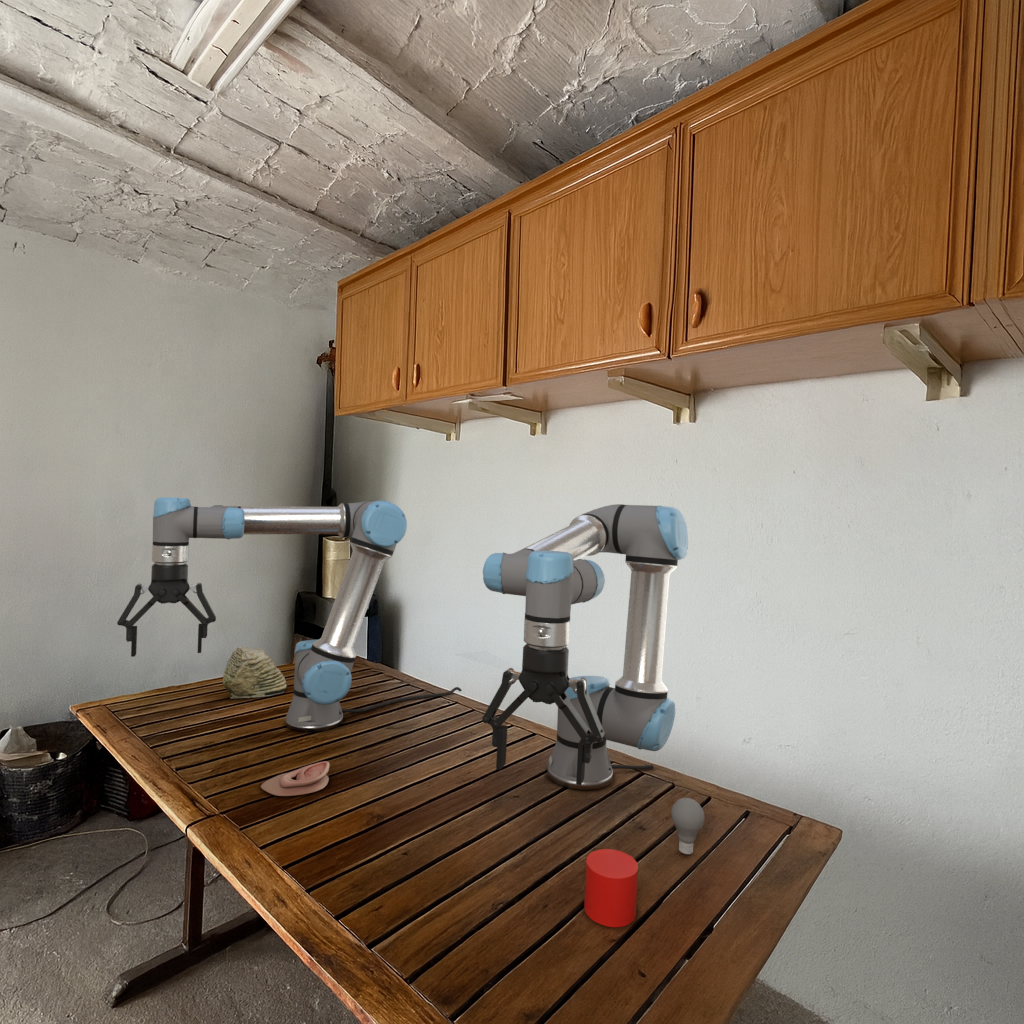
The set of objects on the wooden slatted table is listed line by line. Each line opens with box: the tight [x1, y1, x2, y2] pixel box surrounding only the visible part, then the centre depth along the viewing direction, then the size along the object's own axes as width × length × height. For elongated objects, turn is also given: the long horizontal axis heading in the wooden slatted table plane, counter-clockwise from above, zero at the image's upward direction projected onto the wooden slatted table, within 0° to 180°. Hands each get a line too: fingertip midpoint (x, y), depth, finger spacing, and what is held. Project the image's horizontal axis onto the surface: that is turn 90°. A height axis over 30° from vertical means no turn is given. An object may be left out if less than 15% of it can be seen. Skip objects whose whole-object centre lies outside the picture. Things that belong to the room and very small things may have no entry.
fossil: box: [222, 646, 288, 699], centre depth 198 cm, size 9×18×15 cm, turn 132°
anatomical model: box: [260, 760, 331, 797], centre depth 138 cm, size 13×4×12 cm
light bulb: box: [670, 797, 706, 855], centre depth 118 cm, size 6×6×10 cm
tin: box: [583, 848, 639, 928], centre depth 101 cm, size 8×8×8 cm
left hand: (167, 653), depth 149 cm, fingers open, 13 cm apart
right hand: (539, 774), depth 104 cm, fingers open, 13 cm apart
